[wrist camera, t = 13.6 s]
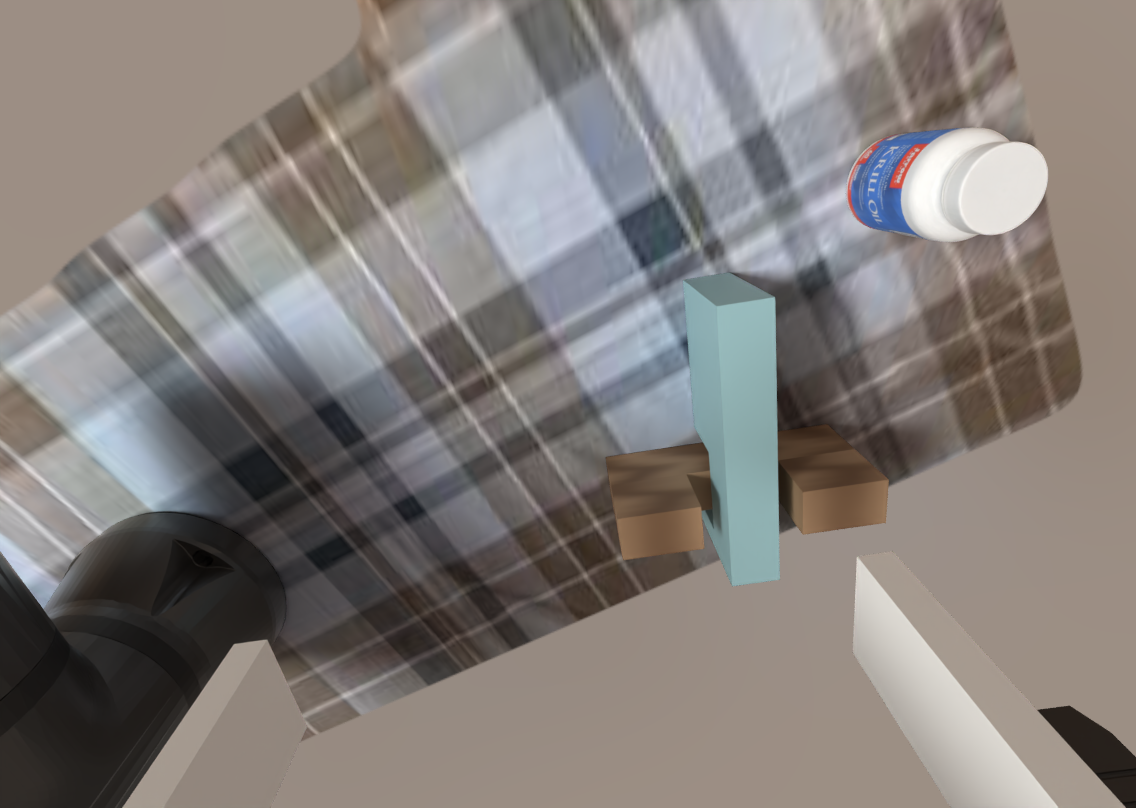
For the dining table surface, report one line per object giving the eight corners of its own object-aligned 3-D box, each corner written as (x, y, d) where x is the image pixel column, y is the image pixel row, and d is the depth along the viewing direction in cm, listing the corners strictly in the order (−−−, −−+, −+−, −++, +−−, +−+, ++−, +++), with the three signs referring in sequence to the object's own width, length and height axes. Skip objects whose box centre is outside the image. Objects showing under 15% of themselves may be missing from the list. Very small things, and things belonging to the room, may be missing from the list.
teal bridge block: (701, 515, 43) (732, 586, 36) (683, 280, 36) (716, 306, 29) (740, 510, 43) (779, 579, 35) (729, 272, 36) (775, 297, 29)
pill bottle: (848, 137, 33) (957, 123, 24) (938, 131, 33) (1082, 114, 24) (837, 233, 36) (934, 253, 26) (923, 227, 36) (1049, 245, 26)
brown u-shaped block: (610, 492, 42) (622, 560, 35) (605, 457, 41) (617, 519, 34) (826, 460, 42) (885, 522, 34) (826, 424, 40) (888, 479, 33)
